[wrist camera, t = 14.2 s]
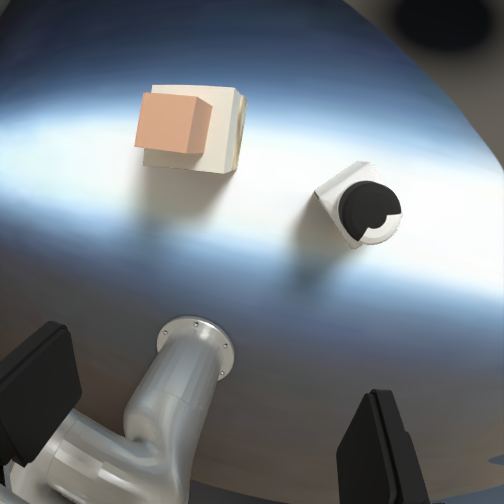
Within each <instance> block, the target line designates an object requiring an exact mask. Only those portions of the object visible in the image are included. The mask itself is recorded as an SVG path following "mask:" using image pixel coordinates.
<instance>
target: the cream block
mask: <svg viewBox="0 0 504 504" xmlns="http://www.w3.org/2000/svg"><path fill="white" fill-rule="evenodd" d="M151 93H162V94H175V95H186V96H196V97H198V98H200V99H202V100H203V101H205V102H207V103H208V104H210V105H212V106H213V108H212V113H211V118H210V123H209V128H208V134H207V139H206V145H205V150H204V153H180V152H173V151H165V150H158V149H150V148H145V150H144V161H143V166H154V167H165V168H176V169H186V170H196V171H205V172H214V173H222V174H224V173H227V172H230V171H231V168H232V160H233V152H234V144H235V136H236V129H237V121H238V114H239V107H240V99H241V95H240V94H239V92H238V91H237V90H236V89H235V88H229V87H214V86H192V85H152V92H151Z"/></svg>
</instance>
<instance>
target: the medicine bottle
mask: <svg viewBox="0 0 504 504" xmlns="http://www.w3.org/2000/svg"><path fill="white" fill-rule="evenodd" d="M314 193H315V195H316V196H317V198H318V199H319V201H320V202H321V204H322V205H323V207H324V208H325V210H326V211H327V212H328V214H329V215H330V217H331V218H332V220H333V221H334V223H335V224H336V226H337V227H338V229H339V230H340V232H341V233H342V235H343V236H344V238H345V239H346V241H347V242H348V244H349V245H350V247H351V248H352V249H356V248H358V247H359V246H361V245H362V244H367V245H375V244H379V243H382V242H384V241H386V240H388V239H389V238H390V237H391V236H392V235H393V234H394V233H395V232H396V230H397V228H398V226H399V224H400V220H401V217H402V216H403V213H402V211H401V206H400V203H399V200H398V198H397V196H396V195H395V193H394V192H393V191H392V190H390V189H389V188H388V187H387V186H386V184H385V183H384V181H383V180H382V178H381V176H380V175H379V173H378V172H377V170H376V169H375V167H374V165H373V164H372V163H370V162H362V161H356V162H354V163H353V164H351V165H350V166H349V167H347V168H346V169H344V170H343V171H341V172H340V173H339V174H337V175H336V176H334V177H333V178H331V179H330V180H328V181H327V182H326V183H324V184H323V185H321V186H320V187H318V188H317V189H316V190H315V191H314Z"/></svg>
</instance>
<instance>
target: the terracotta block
mask: <svg viewBox="0 0 504 504" xmlns="http://www.w3.org/2000/svg"><path fill="white" fill-rule="evenodd" d="M212 108H213V106H212V105H210V104H208V103H207V102H205V101H203V100H202V99H200V98H198V97H196V96H186V95H175V94H162V93H145V92H144V95H143V100H142V105H141V110H140V116H139V121H138V127H137V133H136V139H135V146H134V147H142V148H150V149H158V150H165V151H173V152H180V153H204V150H205V145H206V139H207V134H208V128H209V123H210V118H211V113H212Z"/></svg>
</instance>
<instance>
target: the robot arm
mask: <svg viewBox="0 0 504 504" xmlns="http://www.w3.org/2000/svg"><path fill="white" fill-rule="evenodd" d="M197 322H198V323H197ZM157 351H158V354H157V356H156V358H155V359H154V361H153V362H152V364H151V366H150V367H149V369H148V370H147V372H146V374H145V375H144V377H143V379H142V380H141V382H140V383H139V385H138V387H137V388H136V390H135V392H134V393H133V395H132V396H131V398H130V400H129V402H128V403H127V405H126V407H125V411H124V415H123V426H124V433H125V437H126V438H125V437H123V436H120V435H118V434H116V433H114V432H112V431H111V430H109V429H107V428H105V427H104V426H102V425H100V424H99V423H97V422H95V421H94V420H92V419H90V418H89V417H87V416H85V415H84V414H82V413H80V412H79V411H77V410H75V409H74V408H73V407H74V406H75V405H76V404H77V402H78V401H79V400H80V398H81V394H82V389H81V385H80V380H79V376H78V371H77V366H76V361H75V356H74V351H73V345H72V339H71V334H70V332H69V331H68V329H67V327H66V326H65V325H63V324H60V323H57V322H55V321H48V322H47V323H46V324H44V325H43V326H42V327H41V328H39V329H38V330H37V331H36V332H35V333H33V334H32V335H31V336H30V337H29V338H27V339H26V340H25V341H24V342H23V343H21V344H20V345H19V346H18V347H17V348H16V349H14V350H13V351H12V352H11V353H10V354H9V355H7V356H6V357H5V358H4V359H3V360H2V361H0V504H76V503H78V504H187V503H188V496H189V484H190V475H191V468H192V462H193V458H194V454H195V450H196V447H197V443H198V440H199V437H200V434H201V431H202V427H203V424H204V421H205V418H206V415H207V412H208V409H209V406H210V402H211V399H212V396H213V393H214V390H215V387H216V384H217V381H219V380H221V379H222V378H224V377H225V376H226V375H227V374H228V373H229V372H230V370H231V369H232V366H233V363H234V358H235V352H234V347H233V344H232V342H231V340H230V338H229V337H228V335H227V334H226V333H225V332H224V331H223V330H222V329H221V328H220V327H219V326H217V325H216V324H214V323H212V322H211V321H208V320H206V319H204V318H200V317H195V316H182V317H178V318H175V319H173V320H171V321H169V322H168V323H167V324H166V325H164V327H163V328H162V329H161V331H160V333H159V335H158V338H157ZM11 459H12V460H13V461H14V462H15V464H14V466H13V469H12V472H11V475H10V474H9V466H8V463H9V461H10V460H11ZM336 459H337V471H338V483H339V497H340V504H446V503H443V502H434V503H430V501H429V498H428V494H427V490H426V487H425V483H424V479H423V476H422V472H421V469H420V466H419V462H418V459H417V456H416V452H415V449H414V446H413V443H412V440H411V437H410V435H409V433H408V432H406V431H405V429H404V426H403V423H402V420H401V417H400V414H399V411H398V408H397V405H396V402H395V399H394V396H393V393H392V391H390V390H378V389H373V390H371V392H370V393H369V394H368V393H366V394H365V395H364V397H363V399H362V401H361V403H360V405H359V407H358V409H357V411H356V413H355V415H354V417H353V419H352V421H351V423H350V425H349V427H348V429H347V431H346V433H345V435H344V437H343V439H342V441H341V443H340V444H339V446H338V449H337V454H336ZM63 495H64V496H66V497H67V498H66V497H64V496H63ZM68 498H69V499H71V500H72V501H71V500H69V499H68ZM73 501H74V502H76V503H74V502H73Z"/></svg>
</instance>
